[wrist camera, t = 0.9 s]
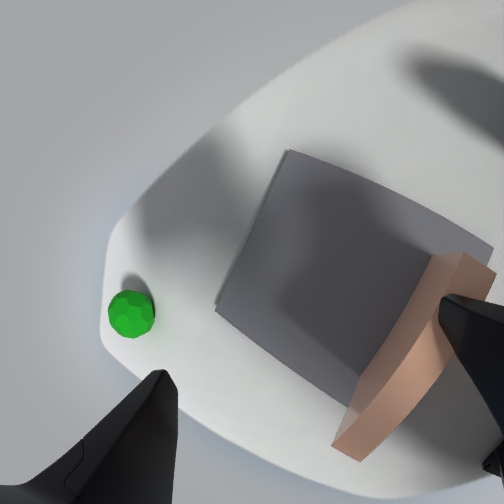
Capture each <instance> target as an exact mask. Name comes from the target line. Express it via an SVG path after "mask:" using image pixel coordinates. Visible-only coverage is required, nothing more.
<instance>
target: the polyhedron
mask: <svg viewBox="0 0 504 504" xmlns="http://www.w3.org/2000/svg"><path fill="white" fill-rule="evenodd" d="M108 315H109V322H110V324H111V326H112V327H113V328H114V329H115V331H116V332H117V333H118V334H120V335H121V336H123V337H128V338H133V339H134V338H137V337H139V336H141V335H143V334H145V333H146V332H148V331H150V329H151V327H152V325H153V323H154V316H153V309H152V302H151V301H150V300H149V299H148V298H147V296H146V295H145V294H142V293H139V292H135V291H131V290H125V291H122V292H120V293H118V294H116V295H115V296H114V297H113V299H112V301H111V303H110V305H109V307H108Z"/></svg>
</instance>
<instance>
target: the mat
mask: <svg viewBox="0 0 504 504" xmlns="http://www.w3.org/2000/svg"><path fill="white" fill-rule="evenodd" d="M493 249H494V248H493V247H492V246H490V245H489V244H487V243H486V242H484V241H482V240H481V239H479V238H478V237H476V236H475V235H473V234H471V233H470V232H468V231H466V230H465V229H463V228H461V227H460V226H458V225H456V224H455V223H453V222H451V221H449V220H448V219H446V218H444V217H442V216H441V215H439V214H437V213H435V212H433V211H431V210H430V209H428V208H426V207H424V206H422V205H420V204H418V203H416V202H414V201H412V200H410V199H408V198H406V197H404V196H402V195H400V194H398V193H396V192H394V191H392V190H390V189H388V188H385V187H383V186H381V185H379V184H377V183H374V182H372V181H370V180H368V179H365V178H363V177H361V176H359V175H356V174H354V173H351V172H349V171H347V170H344V169H342V168H339V167H337V166H334V165H332V164H329V163H326V162H324V161H321V160H319V159H316V158H313V157H310V156H308V155H305V154H302V153H299V152H296V151H294V150H291V149H290V150H289V152H288V154H287V156H286V158H285V160H284V163H283V165H282V167H281V169H280V171H279V173H278V175H277V177H276V179H275V182H274V184H273V186H272V188H271V190H270V192H269V194H268V196H267V199H266V201H265V203H264V205H263V207H262V209H261V211H260V214H259V216H258V218H257V220H256V222H255V224H254V226H253V229H252V231H251V233H250V235H249V237H248V239H247V241H246V244H245V246H244V248H243V250H242V252H241V254H240V257H239V259H238V261H237V263H236V265H235V267H234V270H233V272H232V274H231V276H230V278H229V280H228V283H227V285H226V287H225V289H224V291H223V294H222V296H221V298H220V300H219V302H218V304H217V307H216V309H215V311H216V312H217V313H218V314H219V315H221V316H222V317H223V318H224V319H226V320H227V321H228V322H229V323H231V324H232V325H233V326H234V327H236V328H237V329H238V330H239V331H241V332H242V333H243V334H245V335H246V336H247V337H248V338H250V339H251V340H252V341H254V342H255V343H256V344H258V345H259V346H260V347H262V348H263V349H264V350H266V351H267V352H268V353H270V354H271V355H272V356H274V357H275V358H276V359H278V360H279V361H280V362H282V363H283V364H285V365H286V366H287V367H289V368H290V369H292V370H293V371H294V372H296V373H297V374H299V375H300V376H302V377H303V378H304V379H306V380H307V381H309V382H310V383H312V384H313V385H315V386H316V387H317V388H319V389H320V390H322V391H323V392H325V393H326V394H328V395H329V396H331V397H332V398H334V399H335V400H337V401H339V402H340V403H342V404H343V405H345V406H346V407H348V406H349V403H350V401H351V398H352V396H353V393H354V391H355V388H356V385H357V383H358V380H359V377H360V375H361V374H362V373H363V371H364V370H365V369H366V367H367V366H368V364H369V363H370V362H371V360H372V359H373V357H374V356H375V354H376V353H377V352H378V350H379V349H380V347H381V346H382V344H383V343H384V341H385V339H386V338H387V336H388V335H389V333H390V332H391V330H392V328H393V327H394V325H395V324H396V322H397V320H398V319H399V317H400V315H401V314H402V312H403V310H404V308H405V307H406V305H407V303H408V301H409V300H410V298H411V296H412V294H413V292H414V290H415V289H416V287H417V285H418V283H419V281H420V279H421V277H422V275H423V273H424V271H425V269H426V267H427V265H428V263H429V261H430V259H431V257H432V256H433V255H442V254H450V253H458V252H465V253H466V254H468V255H469V256H471V257H473V258H474V259H476V260H477V261H479V262H480V263H482V264H483V265H485V266H486V267H487V264H488V262H489V259H490V257H491V254H492V252H493Z"/></svg>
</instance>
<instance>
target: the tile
mask: <svg viewBox="0 0 504 504" xmlns="http://www.w3.org/2000/svg"><path fill="white" fill-rule="evenodd" d="M496 275H497V274H496V273H495V272H493V271H492V270H491V269H489V268H488V267H486V266H485V265H483V264H482V263H480V262H479V261H477V260H476V259H474V258H473V257H471V256H469V255H468V254H466V253H465V252H458V253H450V254H442V255H433V256H432V257H431V259H430V261H429V263H428V265H427V267H426V269H425V271H424V273H423V275H422V277H421V279H420V281H419V283H418V285H417V287H416V289H415V290H414V292H413V294H412V296H411V298H410V300H409V301H408V303H407V305H406V307H405V308H404V310H403V312H402V314H401V315H400V317H399V319H398V320H397V322H396V324H395V325H394V327H393V328H392V330H391V332H390V333H389V335H388V336H387V338H386V339H385V341H384V343H383V344H382V346H381V347H380V349H379V350H378V352H377V353H376V354H375V356H374V357H373V359H372V360H371V362H370V363H369V364H368V366H367V367H366V369H365V370H364V371H363V373H362V374H361V375H360V377H359V380H358V383H357V385H356V388H355V391H354V393H353V396H352V398H351V401H350V403H349V406H348V408H347V411H346V413H345V416H344V418H343V420H342V423H341V425H340V427H339V429H338V432H337V434H336V436H335V438H334V440H333V442H332V445H331V446H332V447H334V448H335V449H337V450H339V451H340V452H342V453H344V454H346V455H348V456H349V457H351V458H353V459H355V460H357V461H359V462H361V461H362V460H363V459H364V458H365V457H367V456H368V455H369V454H370V453H371V452H372V451H373V450H374V449H375V448H376V447H377V446H378V445H379V444H380V443H381V442H382V441H383V440H384V439H385V438H386V437H387V436H388V435H389V434H390V433H391V432H392V431H393V430H394V429H395V428H396V427H397V426H398V425H399V424H400V423H401V422H402V421H403V420H404V418H405V417H406V416H407V415H408V414H409V413H410V412H411V411H412V409H413V408H414V407H415V406H416V405H417V403H418V402H419V401H420V400H421V399H422V397H423V396H424V395H425V394H426V392H427V391H428V390H429V389H430V387H431V386H432V385H433V383H434V382H435V381H436V379H437V378H438V377H439V375H440V374H441V372H442V371H443V370H444V368H445V367H446V365H447V364H448V362H449V361H450V359H451V358H452V356H453V355H454V353H455V352H454V350H453V348H452V346H451V345H450V343H449V341H448V339H447V337H446V335H445V334H444V332H443V330H442V328H441V327H440V325H439V322H438V313H439V305H440V300H441V298H442V297H443V296H445V295H447V294H450V293H453V294H457V295H461V296H465V297H469V298H473V299H477V300H481V301H485V299H486V297H487V295H488V292H489V290H490V288H491V286H492V284H493V282H494V279H495V277H496Z"/></svg>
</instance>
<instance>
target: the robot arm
mask: <svg viewBox="0 0 504 504" xmlns="http://www.w3.org/2000/svg"><path fill="white" fill-rule="evenodd" d="M438 322H439V325H440V327H441V328H442V330H443V332H444V334H445V335H446V337H447V339H448V341H449V343H450V345H451V346H452V348H453V350H454V352H455V354H456V356H457V357H458V359H459V361H460V362H461V364H462V365H463V367H464V368H465V370H466V371H467V373H468V375H469V376H470V378H471V379H472V381H473V383H474V384H475V386H476V387H477V389H478V391H479V392H480V394H481V396H482V397H483V399H484V401H485V403H486V404H487V406H488V408H489V410H490V411H491V413H492V415H493V417H494V419H495V421H496V422H497V424H498V426H499V428H500V430H501V432H502V434H503V436H504V306H501V305H497V304H493V303H489V302H485V301H481V300H477V299H473V298H469V297H465V296H461V295H457V294H453V293H450V294H447V295H445V296H443V297H442V298H441V300H440V305H439V313H438ZM177 438H178V390H177V387H176V385H175V384H174V382H173V380H172V379H171V377H170V375H169V373H168V372H167V371H166V370H164V369H162V370H154V371H152V372H151V373H150V374H149V375H148V376H147V377H146V378H145V379H144V380H143V381H142V382H141V383H140V384H139V385H138V386H137V387H136V388H134V389H133V390H132V392H130V393H129V394H128V395H127V396H126V397H125V398H124V399H123V400H122V401H121V402H120V403H119V404H118V405H117V406H116V407H115V408H114V409H113V410H112V411H111V412H110V413H108V414H107V415H106V416H105V417H104V418H103V419H102V420H101V421H100V422H99V423H98V424H97V425H96V426H95V427H94V428H93V429H92V430H91V431H89V432H88V433H87V434H86V435H85V436H84V437H83V439H81V440H80V441H79V442H78V443H77V444H76V445H75V446H73V447H72V448H71V449H70V450H69V451H68V452H67V453H66V454H64V455H63V456H62V457H61V458H59V459H58V460H57V461H56V462H54V463H53V464H52V465H50V466H49V467H48V468H46V469H45V470H44V471H42V472H41V473H40V474H39V475H37V476H35V477H34V478H33V479H31V480H30V481H28V482H26V483H24V484H20V485H0V504H172V492H173V480H174V469H175V458H176V448H177ZM487 464H488V465H487ZM482 468H483V470H485V471H487V472H489V473H492V474H494V475H496V476H499V477H501V478H502V483H503V487H504V441H503V442H502V443H501V444H500V445H499V446H498V448H497V449H496V450H495V451H494V452H493V453H492V454H491V455H490V456H489V457H488V458H487V459H486V460H485V461H484V462H483V464H482Z"/></svg>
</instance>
